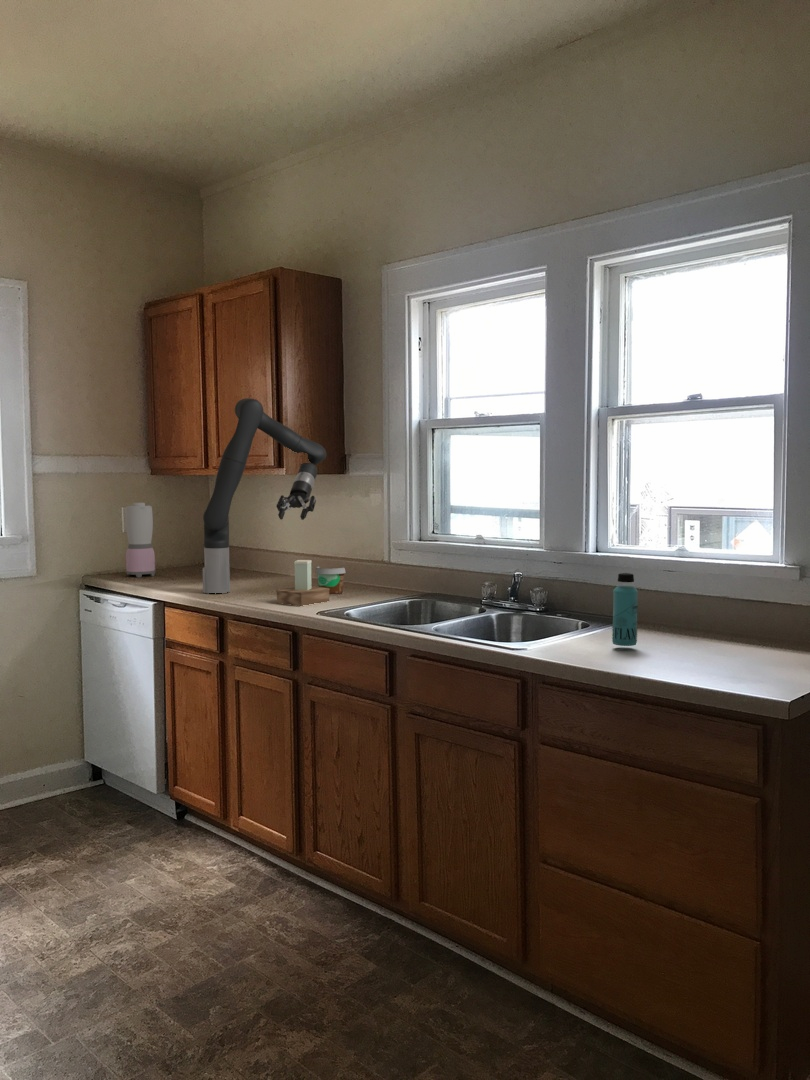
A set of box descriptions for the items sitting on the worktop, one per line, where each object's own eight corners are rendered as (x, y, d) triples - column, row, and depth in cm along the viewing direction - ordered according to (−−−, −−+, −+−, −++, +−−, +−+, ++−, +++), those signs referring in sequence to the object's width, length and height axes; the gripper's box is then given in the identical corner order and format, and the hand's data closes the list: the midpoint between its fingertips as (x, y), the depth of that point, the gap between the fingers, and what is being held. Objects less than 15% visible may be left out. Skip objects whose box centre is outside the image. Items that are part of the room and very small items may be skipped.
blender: (160, 575, 389) (158, 502, 386) (134, 578, 380) (132, 503, 378) (144, 572, 400) (141, 501, 398) (118, 574, 392) (116, 502, 389)
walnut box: (276, 604, 310) (276, 590, 310) (304, 599, 321) (304, 585, 321) (301, 607, 303) (301, 593, 302) (329, 602, 314) (329, 588, 314)
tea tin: (294, 590, 310) (294, 561, 309) (298, 588, 314) (298, 559, 314) (307, 590, 309) (307, 561, 308) (311, 588, 313) (311, 560, 313)
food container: (309, 594, 332) (308, 567, 331) (318, 592, 337) (317, 566, 337) (337, 596, 326) (336, 569, 325) (345, 594, 332) (345, 567, 331)
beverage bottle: (610, 650, 229) (611, 574, 228) (613, 645, 236) (614, 571, 234) (635, 652, 227) (637, 575, 225) (638, 647, 233) (640, 572, 232)
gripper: (282, 479, 337) (270, 511, 327) (317, 479, 333) (306, 511, 323) (288, 493, 342) (276, 524, 332) (322, 493, 338) (311, 525, 328)
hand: (291, 518), depth 328 cm, fingers open, 8 cm apart
